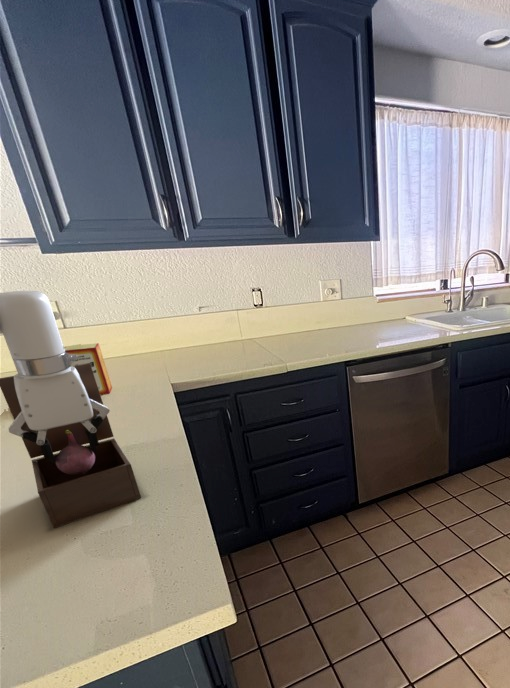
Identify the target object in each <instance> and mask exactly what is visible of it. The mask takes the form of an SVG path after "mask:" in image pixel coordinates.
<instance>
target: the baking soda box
mask: <svg viewBox="0 0 510 688" xmlns="http://www.w3.org/2000/svg"><path fill="white" fill-rule="evenodd" d="M64 349H65V352H66V353H68V354H76V355H77V358H78V361H74V362H72V363H71V364H70V366H74V365H80V364H86V363H90V365H91V368H92V371H93V374H94V377H95V380H96V383H97V386H98V389H99V393H100V396H102V395H107V394H108V395H109V394H111V392H112V389H113V385H112V382H111V379H110V376H109V372H108V369H107V366H106V363H105V359H104V357H103V353H102V350H101V346H100V344H99V343H97V342H96V343H86V344H82V343H79V344H73V345H66V346H64Z"/></svg>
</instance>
